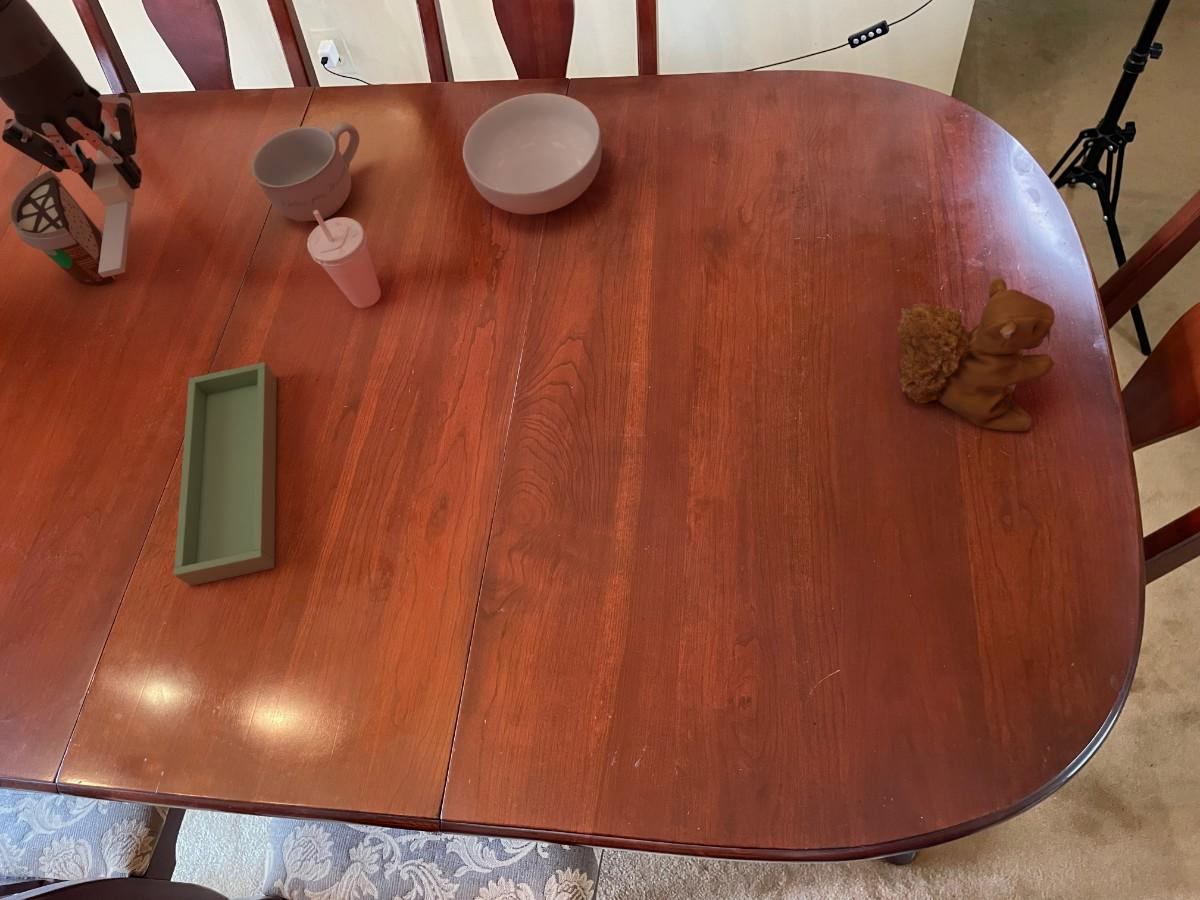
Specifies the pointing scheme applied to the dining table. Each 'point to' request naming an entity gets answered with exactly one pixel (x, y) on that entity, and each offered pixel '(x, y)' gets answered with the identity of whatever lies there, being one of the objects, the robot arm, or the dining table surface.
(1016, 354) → the stuffed squirrel
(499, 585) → the dining table surface
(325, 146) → the teacup
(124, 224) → the grey block with handle
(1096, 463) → the dining table surface
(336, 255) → the smoothie
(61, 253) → the food container
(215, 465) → the tray
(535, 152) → the cereal bowl
